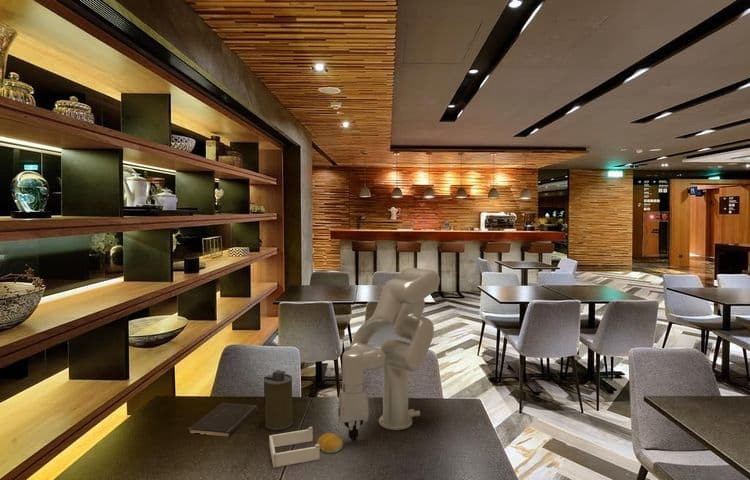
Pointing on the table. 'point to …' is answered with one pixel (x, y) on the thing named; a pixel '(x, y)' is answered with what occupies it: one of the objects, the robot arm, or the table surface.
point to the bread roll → (330, 443)
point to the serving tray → (293, 455)
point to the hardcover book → (224, 419)
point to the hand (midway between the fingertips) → (353, 439)
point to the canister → (278, 400)
